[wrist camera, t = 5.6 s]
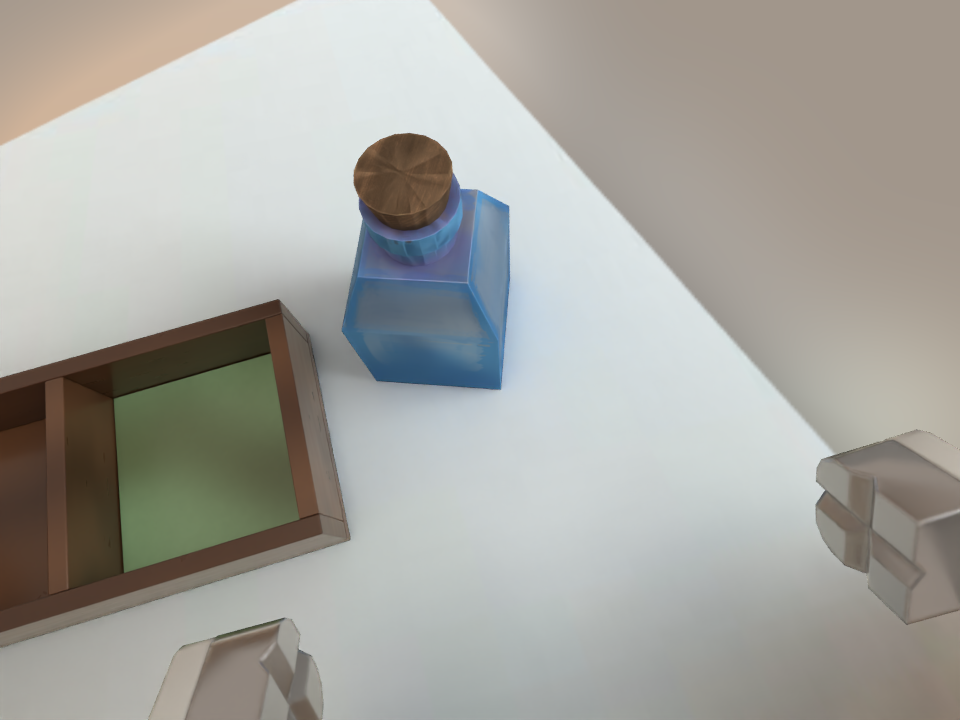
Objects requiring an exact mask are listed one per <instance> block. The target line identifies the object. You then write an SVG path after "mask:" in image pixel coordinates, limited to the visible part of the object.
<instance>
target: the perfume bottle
mask: <svg viewBox="0 0 960 720" xmlns="http://www.w3.org/2000/svg"><path fill="white" fill-rule="evenodd" d="M354 186H355V189H356V191H357V194H358V196H359V210H360V212H361V215H362V217H363V221H362V226H361V231H360V237H359V242H358V247H357V253H356V258H355V263H354V268H353V274H352V279H351V284H350V289H349V295H348V300H347V305H346V311H345V316H344V321H343V326H342V332H343V334H344V335H345V336H346V338H347V339H348V341H349V342H350V344H351V345H352V346H353V348H354V349H355V351H356V352H357V354H358V355H359V356H360V358H361V359H362V361H363V362H364V364H365V365H366V366H367V368H368V369H369V371H370V372H371V374H372V375H373V376H374V378H375V379H376V381H386V382H401V383H415V384H429V385H444V386H458V387H473V388H487V389H501V381H502V368H503V356H504V343H505V331H506V318H507V306H508V294H509V281H510V245H509V206H508V205H506V204H504V203H502V202H500V201H498V200H496V199H494V198H492V197H490V196H489V195H487V194H485V193H483V192H481V191H479V190H471V189H460V185H459V183H458V181H457V179H456V177H455V175H454V173H453V171H452V161H451V159H450V157H449V155H448V153H447V151H446V150H445V149H444V148H443V147H442V146H441V145H440V144H439V143H438V142H437V141H435V140H433V139H431V138H428V137H426V136H424V135H418V134H412V133H405V134H394V135H391V136H389V137H386V138H383V139H380V140H379V141H377V142H376V143H374V144H373V145H371V146H370V147H368V148H367V149H366V151H365V152H364V153H363V154H362V155H361V157H360V158H359V159H358V162H357V164H356V167H355V169H354Z"/></svg>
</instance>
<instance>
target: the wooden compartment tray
mask: <svg viewBox="0 0 960 720" xmlns="http://www.w3.org/2000/svg"><path fill="white" fill-rule="evenodd" d="M349 540H350V535H349V530H348V525H347V520H346V515H345V510H344V505H343V500H342V495H341V490H340V485H339V480H338V475H337V470H336V465H335V460H334V455H333V450H332V445H331V440H330V435H329V430H328V425H327V420H326V415H325V410H324V405H323V400H322V395H321V390H320V385H319V380H318V375H317V371H316V366H315V361H314V356H313V351H312V346H311V341H310V336H309V334H308V333H307V331H306V330H305V329H304V328H303V327H302V326H301V324H300V323H299V322H298V321H297V320H296V319H295V317H294V316H293V315H292V314H291V313H290V311H289V310H288V309H287V308H286V307H285V306H284V304H283V303H282V302H281V301H280V300H279V299H277V300H274V301H270V302H267V303H263V304H259V305H256V306H252V307H249V308H245V309H242V310H238V311H235V312H231V313H228V314H224V315H221V316H217V317H214V318H210V319H207V320H203V321H200V322H196V323H192V324H189V325H185V326H182V327H178V328H175V329H171V330H168V331H164V332H161V333H157V334H154V335H150V336H147V337H143V338H140V339H136V340H133V341H129V342H126V343H122V344H118V345H115V346H111V347H108V348H104V349H101V350H97V351H94V352H90V353H87V354H83V355H80V356H76V357H73V358H69V359H66V360H62V361H59V362H55V363H51V364H48V365H44V366H41V367H37V368H34V369H30V370H27V371H23V372H20V373H16V374H13V375H9V376H6V377H2V378H0V648H1V647H5V646H8V645H11V644H14V643H18V642H21V641H24V640H27V639H30V638H34V637H37V636H40V635H43V634H47V633H50V632H53V631H56V630H60V629H63V628H66V627H69V626H73V625H76V624H79V623H82V622H86V621H89V620H92V619H95V618H99V617H102V616H105V615H108V614H112V613H115V612H118V611H121V610H125V609H128V608H131V607H134V606H138V605H141V604H144V603H147V602H151V601H154V600H157V599H160V598H164V597H167V596H170V595H173V594H177V593H180V592H183V591H186V590H190V589H193V588H196V587H199V586H202V585H206V584H209V583H212V582H215V581H219V580H222V579H225V578H228V577H232V576H235V575H238V574H241V573H245V572H248V571H251V570H254V569H258V568H261V567H264V566H267V565H271V564H274V563H277V562H280V561H284V560H287V559H290V558H293V557H297V556H300V555H303V554H306V553H310V552H313V551H316V550H319V549H323V548H326V547H329V546H332V545H336V544H339V543H342V542H345V541H349Z"/></svg>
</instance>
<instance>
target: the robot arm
mask: <svg viewBox="0 0 960 720" xmlns="http://www.w3.org/2000/svg"><path fill="white" fill-rule="evenodd" d="M816 482H817V483H818V484H819V485H820V486H821V487H823V488H824V489H825V491H824V493H823V494H822V496H821V497H820V499H819V500H818V502H817V503H816V523H817V526H818V529H819V531H820V534H821V536H822V539H823V541H824V542H825V543H826V545H827V546H828V548H829V549H830V551H831V552H832V553H833V554H834V555H835V556H836V557H837V558H838V559H839V560H840V561H841V562H842V563H843V564H844V565H845V566H848V567H850V568H853V569H856V570H858V571H861V572H863V573H866V576H867V583H868V589H870V590H871V591H872V592H873V593H874V594H875V595H876V596H877V597H878V598H879V599H880V600H881V601H882V602H883V603H884V604H885V605H886V606H887V607H888V608H889V609H890V610H891V611H892V612H894V613H895V614H896V615H897V616H898V617H899V618H900V619H901V620H902V621H903V622H904V623H905V624H906V625H908V624H912V623H915V622H919V621H923V620H926V619H930V618H933V617H937V616H940V615H944V614H948V613H951V612H955V611H958V610H960V449H958V448H956V447H955V446H953V445H951V444H949V443H948V442H946V441H944V440H942V439H940V438H939V437H937V436H935V435H933V434H932V433H930V432H925V431H921V430H914V431H911V432H908V433H904V434H901V435H898V436H895V437H891V438H889V439H885V440H884V441H880V442H876V443H873V444H870V445H866V446H863V447H860V448H856V449H853V450H850V451H847V452H843V453H840V454H837V455H833V456H830V457H827V458H824V459H821V461H820V463H819V465H818V466H817V472H816ZM299 640H300V633H299V631H298V630H297V628H296V626H295V624H294V623H293V621H292V619H289V618H282V619H278V620H275V621H271V622H267V623H263V624H260V625H256V626H252V627H248V628H245V629H241V630H237V631H234V632H230V633H226V634H222V635H219V636H217V637H215V638H211V639H207V640H203V641H200V642H196V643H192V644H188V645H184V646H182V647H181V648H180V649H179V650H178V651H177V652H176V653H175V654H174V656H173V658H172V661H171V663H170V666H169V668H168V671H167V673H166V676H165V678H164V681H163V683H162V686H161V688H160V691H159V693H158V696H157V698H156V701H155V703H154V706H153V708H152V711H151V714H150V716H149V719H148V720H322V715H323V695H322V684H321V679H320V676H319V672H318V669H317V666H316V664H315V662H314V660H313V658H312V656H311V655H309V654H307V653H305V652H303V651H301V650H298V647H299Z"/></svg>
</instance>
